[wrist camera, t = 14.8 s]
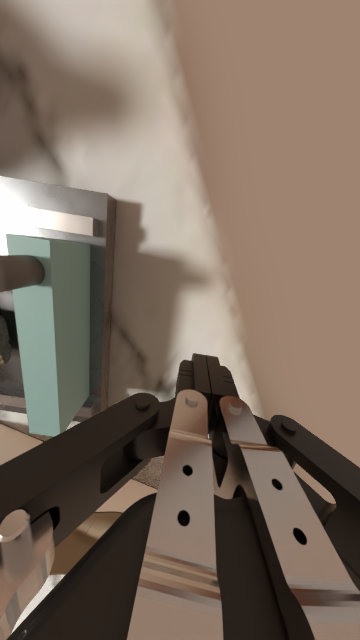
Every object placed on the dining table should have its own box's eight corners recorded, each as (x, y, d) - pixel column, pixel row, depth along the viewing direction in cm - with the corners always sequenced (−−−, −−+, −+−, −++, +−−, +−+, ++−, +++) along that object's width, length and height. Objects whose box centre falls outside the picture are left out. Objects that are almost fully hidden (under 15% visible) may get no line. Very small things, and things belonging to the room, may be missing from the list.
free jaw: (89, 395, 17) (38, 469, 11) (65, 392, 17) (1, 464, 11) (90, 244, 13) (12, 236, 7) (59, 239, 13) (-44, 227, 7)
